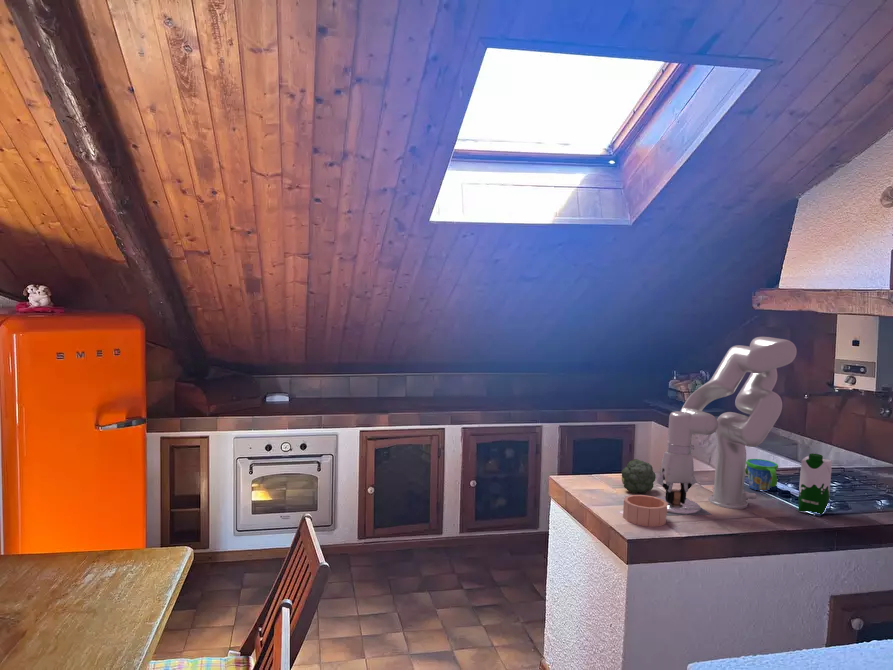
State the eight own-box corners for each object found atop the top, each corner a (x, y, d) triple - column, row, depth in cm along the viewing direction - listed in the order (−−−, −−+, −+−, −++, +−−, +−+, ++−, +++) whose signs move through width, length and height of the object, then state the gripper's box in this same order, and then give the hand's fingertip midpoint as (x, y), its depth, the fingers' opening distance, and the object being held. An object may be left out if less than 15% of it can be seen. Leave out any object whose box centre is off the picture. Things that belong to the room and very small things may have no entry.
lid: (685, 498, 244) (686, 483, 244) (709, 514, 229) (710, 498, 228) (642, 498, 242) (643, 483, 241) (663, 514, 226) (665, 498, 226)
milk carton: (794, 512, 235) (799, 453, 233) (801, 505, 242) (806, 449, 240) (823, 518, 230) (829, 458, 228) (830, 512, 236) (835, 454, 235)
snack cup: (785, 496, 253) (787, 468, 252) (757, 495, 252) (759, 468, 251) (762, 483, 268) (764, 457, 267) (736, 482, 267) (738, 456, 266)
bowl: (654, 512, 229) (655, 494, 229) (673, 526, 216) (674, 508, 216) (616, 513, 227) (617, 495, 227) (633, 527, 214) (634, 508, 214)
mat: (686, 498, 245) (686, 497, 245) (711, 515, 228) (711, 514, 228) (640, 499, 242) (640, 498, 242) (662, 516, 225) (663, 515, 225)
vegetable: (646, 477, 262) (668, 470, 248) (631, 505, 256) (652, 499, 242) (620, 457, 262) (640, 449, 248) (604, 485, 256) (624, 478, 243)
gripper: (696, 446, 238) (692, 498, 240) (650, 446, 236) (647, 499, 237) (708, 451, 231) (704, 505, 233) (660, 451, 228) (657, 506, 230)
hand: (675, 501), depth 235 cm, fingers open, 3 cm apart
